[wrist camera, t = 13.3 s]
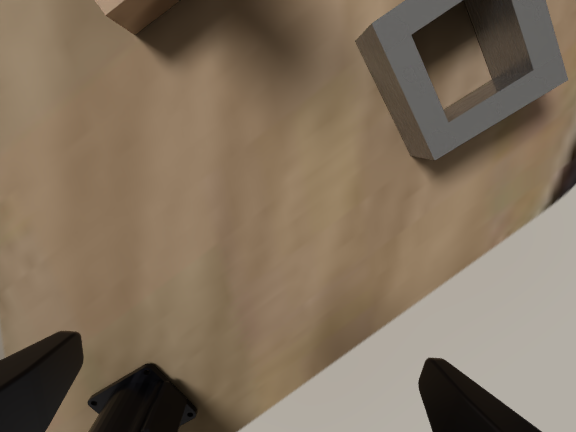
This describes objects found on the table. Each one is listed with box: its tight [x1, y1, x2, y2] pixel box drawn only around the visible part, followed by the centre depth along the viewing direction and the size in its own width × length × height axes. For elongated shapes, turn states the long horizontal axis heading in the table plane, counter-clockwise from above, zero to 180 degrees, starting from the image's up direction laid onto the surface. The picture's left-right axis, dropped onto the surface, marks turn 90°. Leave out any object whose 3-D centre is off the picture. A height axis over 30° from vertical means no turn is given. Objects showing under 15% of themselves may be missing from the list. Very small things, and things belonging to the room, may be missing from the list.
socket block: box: [355, 0, 568, 160], centre depth 16 cm, size 8×8×3 cm
